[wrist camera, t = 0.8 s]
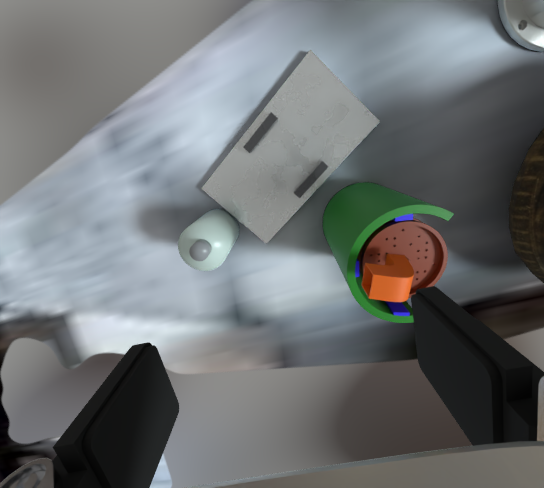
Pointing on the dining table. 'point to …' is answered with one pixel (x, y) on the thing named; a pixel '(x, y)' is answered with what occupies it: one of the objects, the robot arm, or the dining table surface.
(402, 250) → the motor
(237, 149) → the clip bracket
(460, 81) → the dining table surface
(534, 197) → the ceramic pot
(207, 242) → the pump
